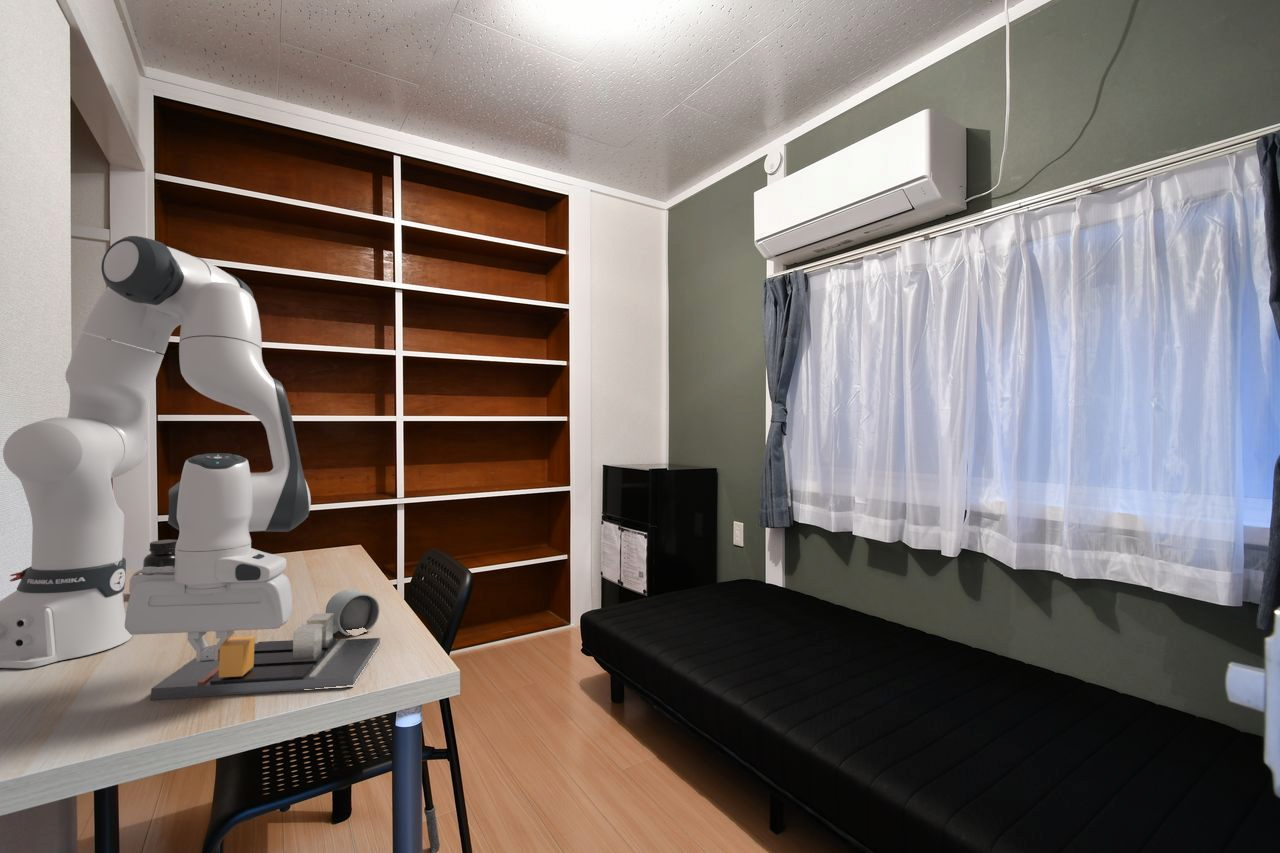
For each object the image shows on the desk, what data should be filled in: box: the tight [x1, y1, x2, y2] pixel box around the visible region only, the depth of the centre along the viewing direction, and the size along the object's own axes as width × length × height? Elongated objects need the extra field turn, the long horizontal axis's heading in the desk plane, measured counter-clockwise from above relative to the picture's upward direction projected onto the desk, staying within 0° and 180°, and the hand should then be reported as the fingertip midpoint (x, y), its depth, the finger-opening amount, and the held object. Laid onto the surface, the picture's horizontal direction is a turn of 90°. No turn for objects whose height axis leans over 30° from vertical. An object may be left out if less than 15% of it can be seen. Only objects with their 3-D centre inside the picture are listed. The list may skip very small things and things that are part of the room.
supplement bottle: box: [142, 539, 178, 568], centre depth 124 cm, size 7×7×12 cm
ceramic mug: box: [325, 589, 381, 637], centre depth 105 cm, size 11×8×8 cm
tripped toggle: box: [219, 635, 256, 677], centre depth 82 cm, size 3×4×4 cm
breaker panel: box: [150, 612, 381, 701], centre depth 88 cm, size 26×16×6 cm, turn 102°
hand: (210, 660), depth 81 cm, fingers closed
